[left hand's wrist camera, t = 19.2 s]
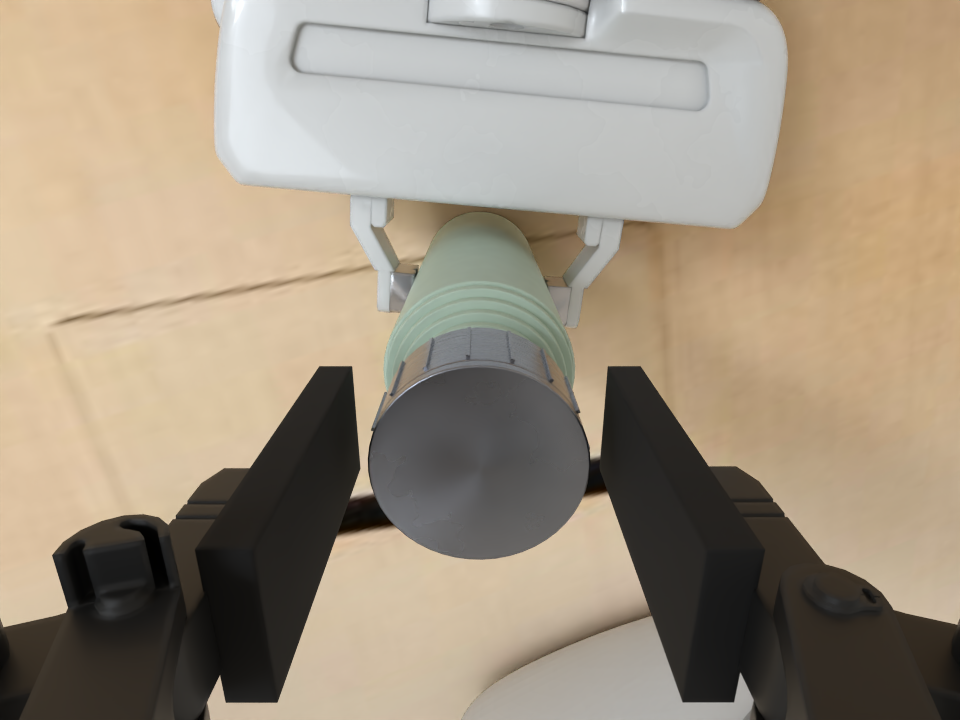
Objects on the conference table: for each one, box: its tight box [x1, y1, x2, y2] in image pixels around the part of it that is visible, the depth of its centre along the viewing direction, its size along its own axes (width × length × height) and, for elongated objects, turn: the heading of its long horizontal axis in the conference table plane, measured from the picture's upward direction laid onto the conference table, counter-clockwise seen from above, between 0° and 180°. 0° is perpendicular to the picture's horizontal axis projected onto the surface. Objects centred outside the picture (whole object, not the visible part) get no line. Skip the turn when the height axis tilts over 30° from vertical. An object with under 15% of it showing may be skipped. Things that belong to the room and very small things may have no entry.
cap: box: [368, 327, 590, 560], centre depth 13 cm, size 5×5×2 cm
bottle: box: [384, 212, 575, 392], centre depth 22 cm, size 5×5×19 cm
